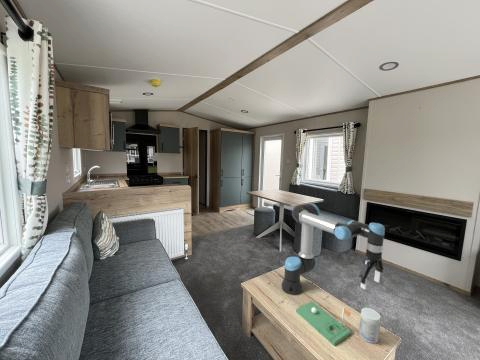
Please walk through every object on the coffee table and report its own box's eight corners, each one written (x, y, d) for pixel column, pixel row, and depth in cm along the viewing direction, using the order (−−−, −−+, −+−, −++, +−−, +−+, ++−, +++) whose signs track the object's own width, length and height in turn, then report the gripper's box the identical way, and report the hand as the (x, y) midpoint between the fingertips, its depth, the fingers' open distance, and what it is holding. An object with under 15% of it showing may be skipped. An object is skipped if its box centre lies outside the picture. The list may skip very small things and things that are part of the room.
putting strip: (296, 311, 138) (297, 292, 136) (311, 303, 145) (313, 285, 143) (334, 345, 114) (336, 322, 112) (350, 334, 121) (352, 312, 120)
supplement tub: (365, 327, 127) (368, 305, 125) (382, 340, 118) (385, 316, 116) (355, 333, 122) (357, 310, 120) (371, 346, 114) (374, 322, 112)
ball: (310, 312, 135) (310, 307, 135) (313, 310, 137) (313, 305, 136) (314, 315, 132) (314, 310, 132) (317, 313, 134) (318, 308, 133)
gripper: (367, 258, 111) (363, 295, 113) (393, 248, 122) (388, 282, 125) (354, 252, 117) (350, 287, 120) (379, 243, 129) (375, 275, 132)
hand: (370, 284), depth 123 cm, fingers open, 13 cm apart
